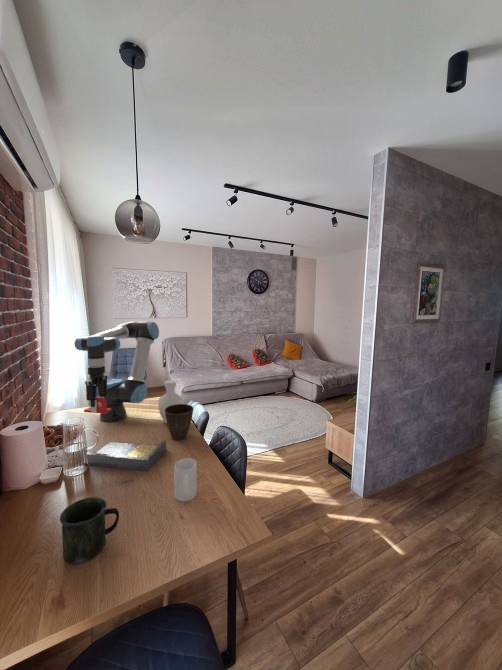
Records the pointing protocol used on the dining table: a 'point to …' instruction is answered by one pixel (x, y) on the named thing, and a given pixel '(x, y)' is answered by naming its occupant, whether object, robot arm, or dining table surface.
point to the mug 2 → (185, 479)
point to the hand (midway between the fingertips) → (97, 410)
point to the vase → (168, 398)
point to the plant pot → (179, 420)
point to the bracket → (102, 409)
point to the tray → (127, 456)
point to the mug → (85, 529)
